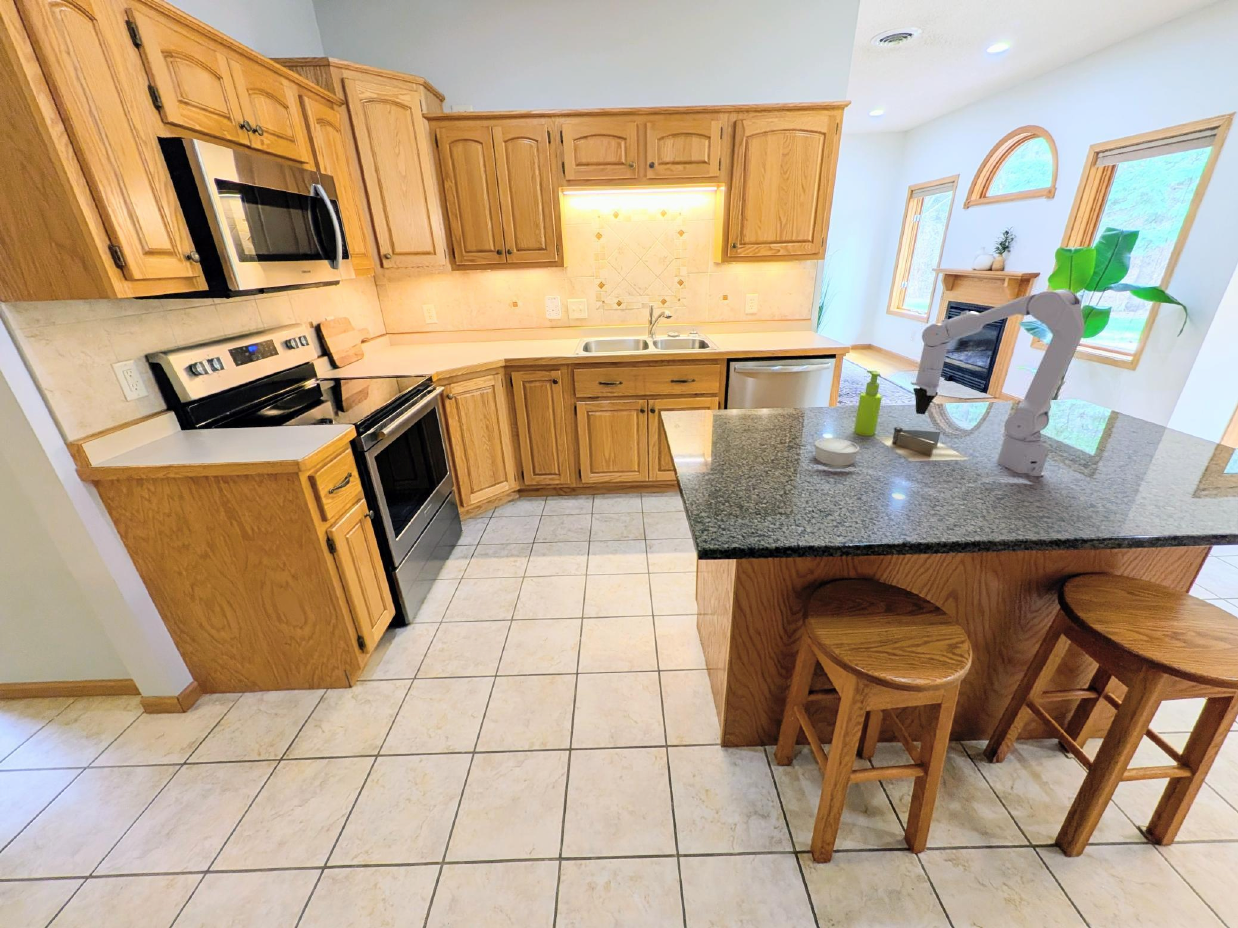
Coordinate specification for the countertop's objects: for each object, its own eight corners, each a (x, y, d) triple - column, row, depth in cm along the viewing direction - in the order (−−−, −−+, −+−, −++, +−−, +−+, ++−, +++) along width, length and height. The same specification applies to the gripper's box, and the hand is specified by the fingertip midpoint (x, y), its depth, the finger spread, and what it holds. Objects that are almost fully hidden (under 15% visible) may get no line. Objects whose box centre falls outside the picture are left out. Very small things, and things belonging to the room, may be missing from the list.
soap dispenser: (868, 431, 158) (880, 369, 150) (877, 439, 152) (889, 374, 144) (849, 431, 159) (860, 369, 151) (857, 439, 152) (868, 374, 145)
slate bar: (899, 442, 145) (902, 429, 143) (898, 441, 146) (901, 429, 144) (937, 444, 143) (940, 431, 141) (936, 443, 143) (939, 430, 142)
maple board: (968, 463, 133) (969, 459, 133) (909, 464, 133) (910, 460, 133) (926, 439, 151) (927, 435, 150) (874, 440, 151) (874, 437, 150)
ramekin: (860, 472, 130) (864, 453, 128) (815, 469, 132) (818, 451, 130) (851, 456, 140) (854, 438, 138) (809, 454, 142) (811, 437, 140)
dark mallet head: (888, 443, 145) (892, 428, 143) (894, 441, 146) (897, 426, 144) (929, 456, 135) (933, 440, 133) (935, 455, 136) (939, 439, 134)
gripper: (910, 361, 148) (900, 405, 153) (919, 372, 136) (909, 419, 141) (937, 363, 146) (926, 407, 151) (949, 373, 133) (937, 421, 139)
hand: (920, 413), depth 146 cm, fingers closed
